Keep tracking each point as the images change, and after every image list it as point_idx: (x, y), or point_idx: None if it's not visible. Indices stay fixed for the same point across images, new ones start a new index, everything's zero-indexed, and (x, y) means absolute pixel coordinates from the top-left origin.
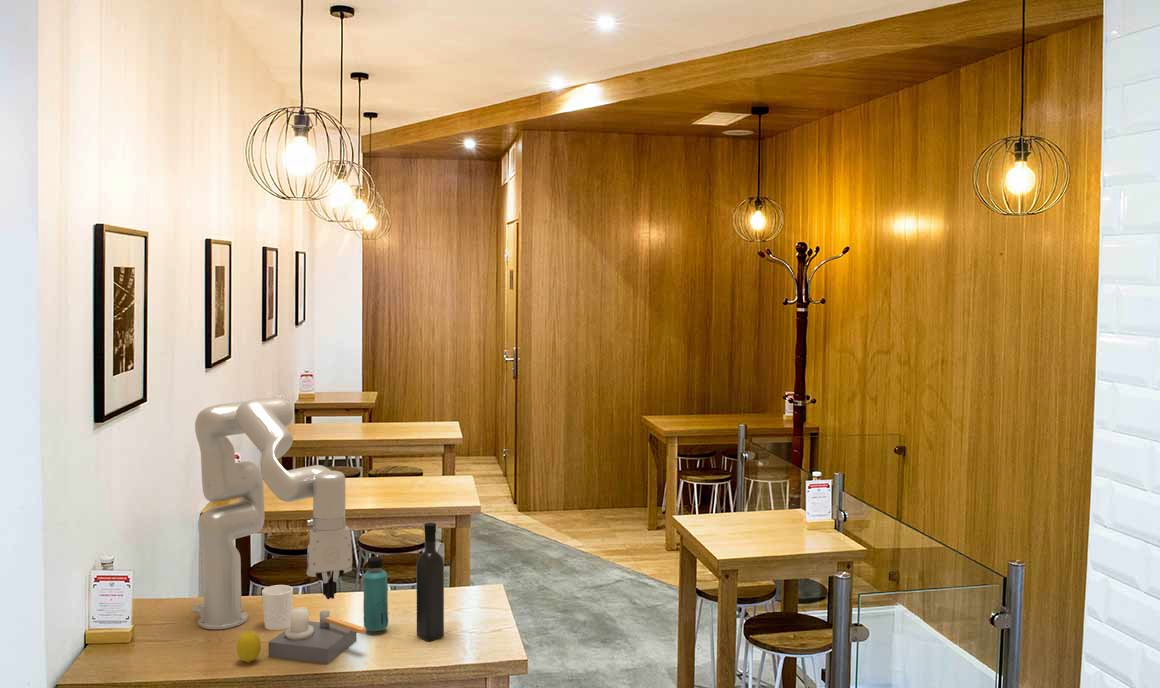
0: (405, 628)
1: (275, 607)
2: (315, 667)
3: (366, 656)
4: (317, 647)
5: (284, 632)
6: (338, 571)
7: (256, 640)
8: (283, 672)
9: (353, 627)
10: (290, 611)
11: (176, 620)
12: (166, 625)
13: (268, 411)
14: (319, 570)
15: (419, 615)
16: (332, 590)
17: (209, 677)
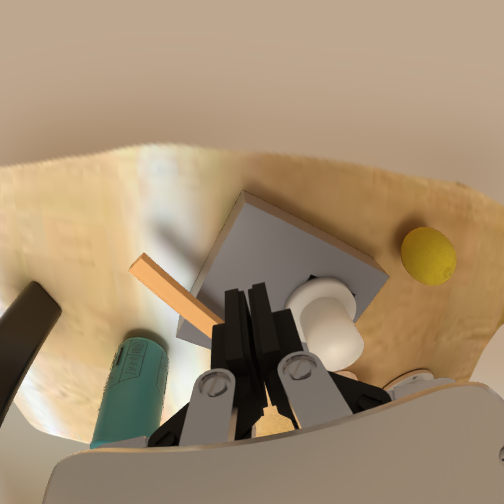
0: (93, 349)
1: None
2: (274, 181)
3: (146, 226)
4: (275, 218)
5: None
6: (186, 445)
7: (427, 252)
8: (349, 170)
9: (167, 282)
10: (363, 345)
11: None
12: (456, 375)
13: None
14: (420, 413)
15: (32, 331)
16: (236, 317)
17: (466, 189)
